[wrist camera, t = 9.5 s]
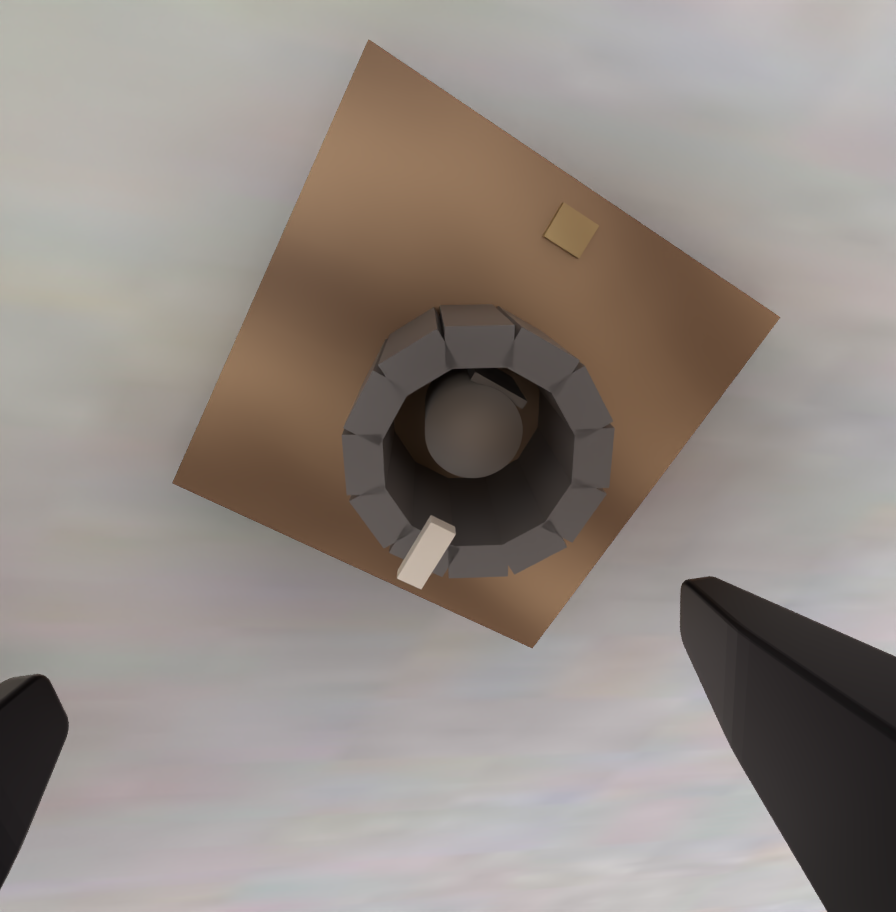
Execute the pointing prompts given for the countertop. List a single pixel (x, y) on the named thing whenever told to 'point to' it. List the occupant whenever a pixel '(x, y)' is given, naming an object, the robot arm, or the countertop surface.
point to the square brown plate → (430, 285)
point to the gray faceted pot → (486, 498)
